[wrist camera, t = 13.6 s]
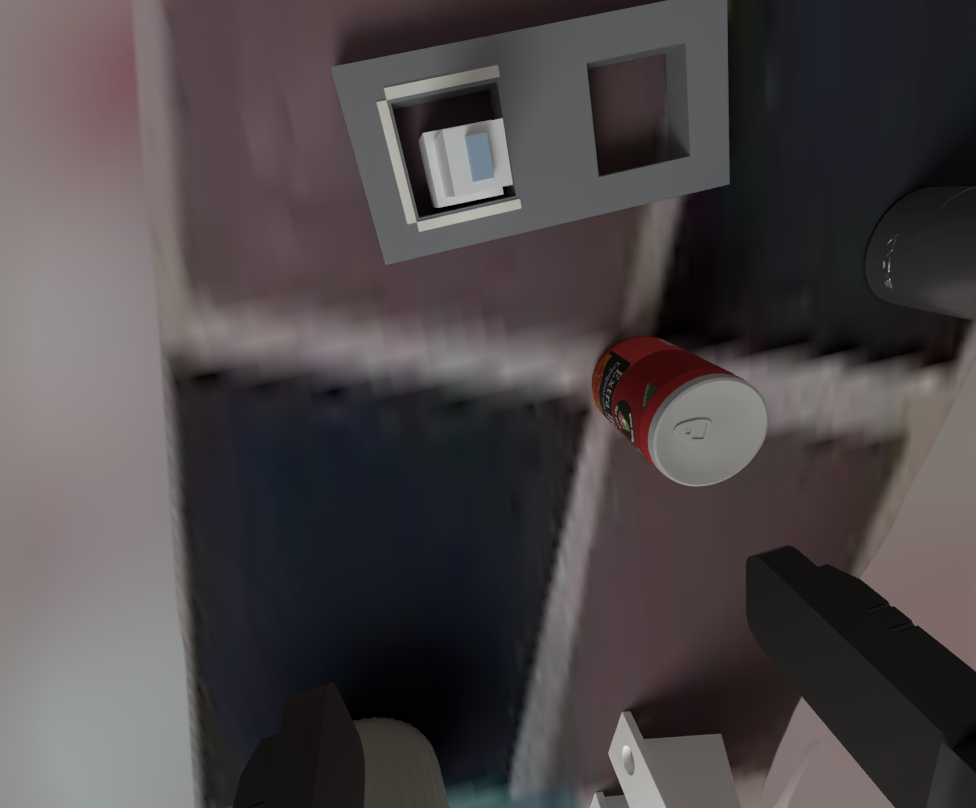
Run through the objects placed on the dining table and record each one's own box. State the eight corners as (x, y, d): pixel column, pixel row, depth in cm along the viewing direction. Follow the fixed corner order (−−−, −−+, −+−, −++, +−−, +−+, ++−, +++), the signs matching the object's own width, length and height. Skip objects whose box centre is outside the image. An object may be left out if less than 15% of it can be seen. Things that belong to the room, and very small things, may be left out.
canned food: (583, 344, 40) (649, 393, 30) (678, 323, 41) (773, 363, 31) (592, 431, 43) (655, 501, 33) (681, 409, 44) (768, 471, 34)
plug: (478, 129, 33) (513, 102, 24) (489, 195, 35) (527, 192, 26) (418, 141, 33) (430, 118, 24) (432, 206, 35) (448, 209, 25)
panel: (703, 3, 33) (727, -13, 31) (708, 185, 37) (730, 184, 35) (334, 77, 31) (330, 66, 28) (385, 260, 35) (385, 265, 33)
